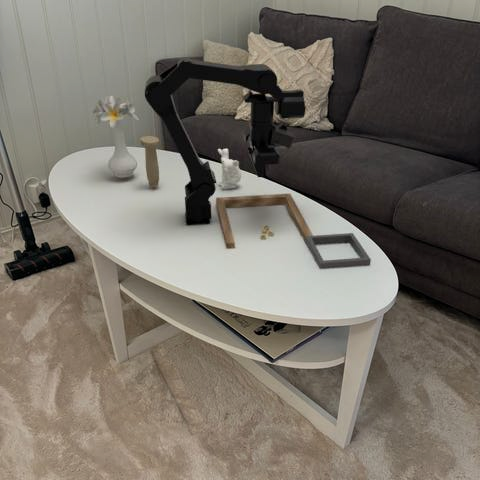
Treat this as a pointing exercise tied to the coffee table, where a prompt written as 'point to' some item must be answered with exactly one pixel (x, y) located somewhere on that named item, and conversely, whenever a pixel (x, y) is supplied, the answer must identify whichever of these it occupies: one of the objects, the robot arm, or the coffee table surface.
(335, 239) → the bin
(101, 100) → the flower vase
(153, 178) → the handle
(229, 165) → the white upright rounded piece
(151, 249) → the coffee table surface
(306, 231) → the wooden u-frame
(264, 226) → the dice set
